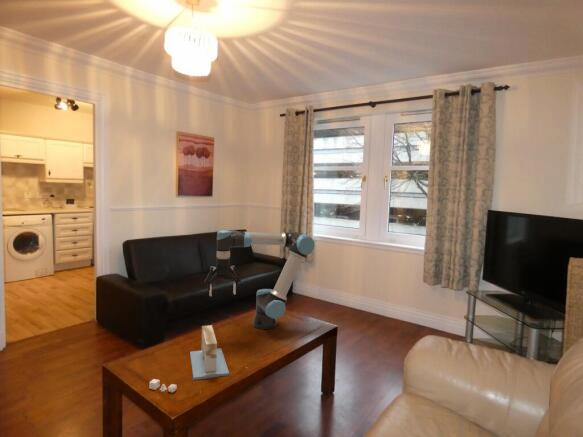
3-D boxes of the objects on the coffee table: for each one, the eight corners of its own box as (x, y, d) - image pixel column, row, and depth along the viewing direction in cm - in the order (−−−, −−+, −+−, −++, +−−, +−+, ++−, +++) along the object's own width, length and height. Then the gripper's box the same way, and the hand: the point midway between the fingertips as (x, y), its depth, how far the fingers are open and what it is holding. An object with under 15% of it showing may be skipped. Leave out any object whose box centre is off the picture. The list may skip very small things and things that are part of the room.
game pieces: (148, 389, 148) (148, 382, 148) (153, 385, 151) (153, 378, 151) (173, 394, 145) (173, 387, 145) (178, 390, 148) (178, 383, 148)
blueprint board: (220, 350, 186) (221, 335, 185) (228, 375, 161) (229, 358, 161) (190, 353, 180) (190, 338, 180) (193, 380, 156) (193, 362, 155)
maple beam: (211, 338, 182) (211, 325, 181) (216, 357, 161) (217, 343, 160) (201, 339, 180) (201, 326, 179) (205, 359, 159) (206, 344, 159)
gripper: (201, 260, 187) (200, 298, 189) (246, 258, 196) (245, 294, 198) (199, 257, 194) (199, 294, 196) (243, 255, 203) (242, 291, 205)
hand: (222, 294), depth 197 cm, fingers open, 13 cm apart
